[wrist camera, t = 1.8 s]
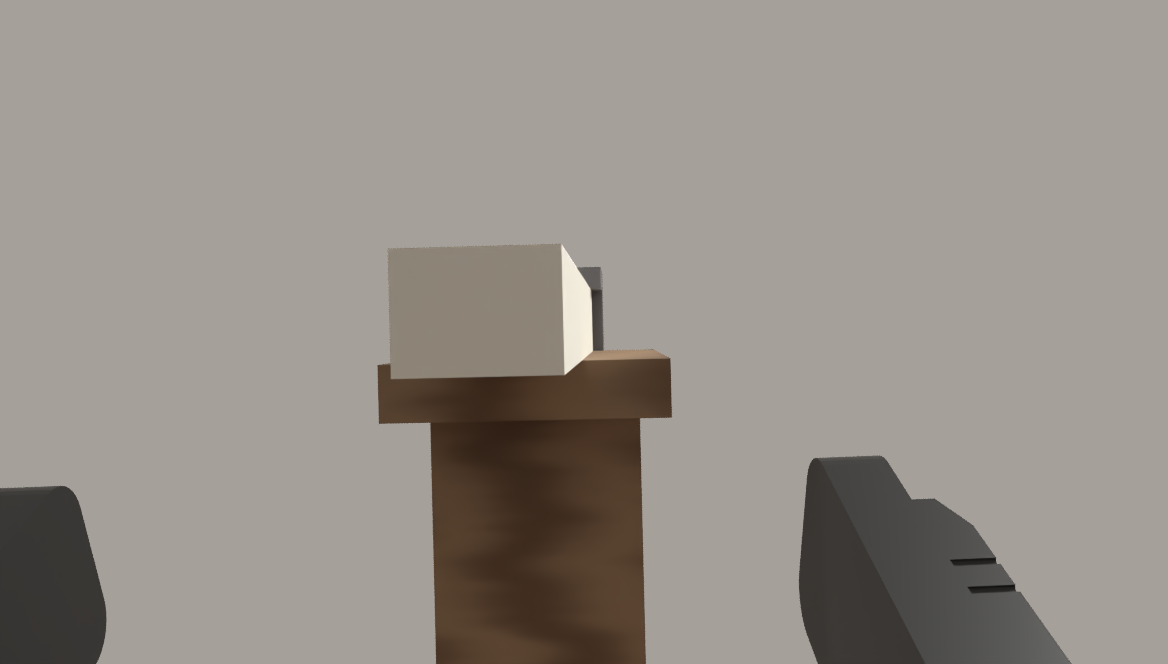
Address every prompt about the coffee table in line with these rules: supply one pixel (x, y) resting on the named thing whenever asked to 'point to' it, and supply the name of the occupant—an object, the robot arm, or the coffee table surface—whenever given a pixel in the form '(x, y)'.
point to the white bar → (491, 311)
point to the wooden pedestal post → (537, 507)
